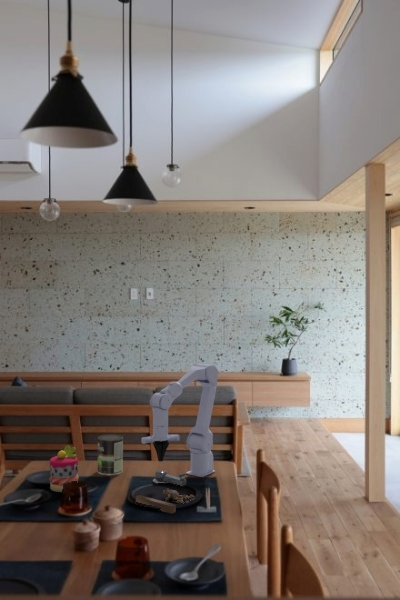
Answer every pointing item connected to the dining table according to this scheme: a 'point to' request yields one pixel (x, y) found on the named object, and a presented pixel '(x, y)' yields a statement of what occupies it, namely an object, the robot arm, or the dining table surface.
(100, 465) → the coffee can
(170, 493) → the frog figurine
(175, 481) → the crank
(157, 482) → the crank base plate
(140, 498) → the brown wooden bar
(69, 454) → the cake
